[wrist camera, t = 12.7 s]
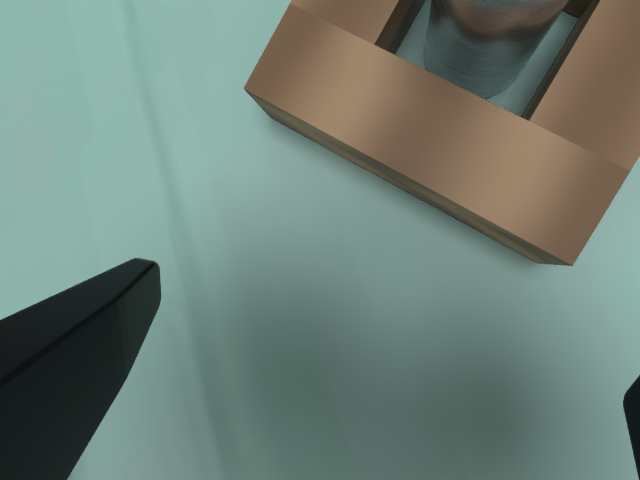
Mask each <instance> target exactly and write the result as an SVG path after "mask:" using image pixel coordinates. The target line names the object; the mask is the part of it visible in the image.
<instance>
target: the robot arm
mask: <svg viewBox="0 0 640 480" xmlns="http://www.w3.org/2000/svg"><path fill="white" fill-rule="evenodd" d="M160 301H161V284H160V268H159V265H158V263H156V262H155V261H151V260H146V259H141V258H134V259H131V260H129V261H127V262H125V263H123V264H121V265H118V266H116V267H114V268H112V269H110V270H108V271H105V272H103V273H101V274H99V275H97V276H95V277H92V278H90V279H88V280H86V281H84V282H82V283H79V284H77V285H75V286H73V287H71V288H69V289H66V290H64V291H62V292H60V293H58V294H56V295H53V296H51V297H49V298H47V299H45V300H43V301H40V302H38V303H36V304H34V305H32V306H30V307H27V308H25V309H23V310H21V311H19V312H17V313H15V314H12V315H10V316H8V317H6V318H4V319H2V320H0V480H67V479H68V477H69V475H70V474H71V472H72V470H73V468H74V467H75V465H76V463H77V462H78V460H79V458H80V457H81V455H82V453H83V452H84V450H85V448H86V447H87V445H88V443H89V442H90V440H91V438H92V436H93V435H94V433H95V431H96V430H97V428H98V426H99V425H100V423H101V421H102V420H103V418H104V416H105V415H106V413H107V411H108V410H109V408H110V406H111V404H112V403H113V401H114V399H115V398H116V396H117V394H118V393H119V391H120V389H121V387H122V386H123V384H124V382H125V380H126V379H127V376H128V374H129V372H130V370H131V368H132V366H133V364H134V362H135V359H136V357H137V355H138V353H139V350H140V348H141V346H142V344H143V342H144V339H145V337H146V335H147V333H148V330H149V328H150V326H151V324H152V321H153V319H154V317H155V315H156V313H157V310H158V308H159V305H160ZM623 407H624V412H625V416H626V421H627V426H628V430H629V435H630V440H631V444H632V449H633V454H634V458H635V463H636V468H637V472H638V477H639V480H640V375H639V377H638V378H637V379H636V380H635V382H634V383H633V384H632V385H631V387H630V388H629V389H628V390H627V392H626V393H625V396H624V400H623Z"/></svg>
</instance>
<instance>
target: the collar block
mask: <svg viewBox="0 0 640 480" xmlns="http://www.w3.org/2000/svg"><path fill="white" fill-rule="evenodd" d="M424 1H425V0H292V1H291V3H290V5H289V6H288V8H287V10H286V12H285V14H284V16H283V17H282V19H281V21H280V23H279V25H278V27H277V28H276V30H275V32H274V34H273V36H272V38H271V39H270V41H269V43H268V45H267V47H266V48H265V50H264V52H263V54H262V56H261V58H260V59H259V61H258V63H257V65H256V67H255V69H254V70H253V72H252V74H251V76H250V78H249V80H248V81H247V83H246V85H245V87H244V90H245V91H246V92H247V93H248V94H249V95H250V96H251V97H252V98H253V99H254V100H255V101H256V102H257V103H258V105H259V106H260V107H261V108H262V109H263V110H264V111H265V112H266V113H267V114H268V115H269V116H270V117H271V118H272V119H274V120H276V121H278V122H280V123H281V124H283V125H285V126H287V127H289V128H291V129H292V130H294V131H296V132H298V133H300V134H302V135H303V136H305V137H307V138H309V139H311V140H313V141H315V142H316V143H318V144H320V145H322V146H324V147H326V148H327V149H329V150H331V151H333V152H335V153H337V154H338V155H340V156H342V157H344V158H346V159H348V160H349V161H351V162H353V163H355V164H357V165H359V166H360V167H362V168H364V169H366V170H368V171H370V172H371V173H373V174H375V175H377V176H379V177H381V178H382V179H384V180H386V181H388V182H390V183H392V184H393V185H395V186H397V187H399V188H401V189H403V190H404V191H406V192H408V193H410V194H412V195H414V196H416V197H417V198H419V199H421V200H423V201H425V202H427V203H428V204H430V205H432V206H434V207H436V208H438V209H439V210H441V211H443V212H445V213H447V214H449V215H450V216H452V217H454V218H456V219H458V220H460V221H461V222H463V223H465V224H467V225H469V226H471V227H472V228H474V229H476V230H478V231H480V232H482V233H483V234H485V235H487V236H489V237H491V238H493V239H494V240H496V241H498V242H500V243H502V244H504V245H505V246H507V247H509V248H511V249H513V250H515V251H517V252H518V253H520V254H522V255H524V256H526V257H528V258H529V259H531V260H533V261H535V262H537V263H540V264H554V265H568V266H573V264H574V263H575V261H576V259H577V258H578V256H579V254H580V253H581V251H582V250H583V248H584V246H585V245H586V243H587V241H588V240H589V238H590V236H591V235H592V233H593V232H594V230H595V228H596V227H597V225H598V223H599V222H600V220H601V218H602V217H603V215H604V214H605V212H606V210H607V209H608V207H609V205H610V204H611V202H612V200H613V199H614V197H615V195H616V194H617V192H618V191H619V189H620V187H621V186H622V184H623V182H624V181H625V179H626V177H627V176H628V174H629V173H630V171H631V169H632V168H633V166H634V164H635V163H636V161H637V159H638V158H639V156H640V0H569V1H568V3H567V4H566V6H565V7H564V9H563V11H565V12H567V13H569V14H572V15H574V16H576V17H578V18H579V20H578V21H577V23H576V25H575V26H574V28H573V30H572V32H571V33H570V35H569V37H568V38H567V40H566V42H565V43H564V45H563V47H562V49H561V50H560V52H559V54H558V55H557V57H556V59H555V60H554V62H553V64H552V66H551V67H550V69H549V71H548V72H547V74H546V76H545V77H544V79H543V81H542V82H541V84H540V86H539V88H538V89H537V91H536V93H535V94H534V96H533V98H532V99H531V101H530V103H529V105H528V106H527V108H526V110H525V111H524V113H523V115H522V116H521V117H520V116H518V115H515V114H513V113H511V112H509V111H507V110H505V109H503V108H501V107H499V106H497V105H495V104H493V103H491V102H489V101H487V100H485V99H483V98H481V97H479V96H477V95H475V94H473V93H471V92H469V91H467V90H465V89H463V88H461V87H459V86H457V85H455V84H453V83H451V82H449V81H447V80H445V79H443V78H440V77H438V76H436V75H434V74H432V73H430V72H428V71H426V70H424V69H422V68H420V67H418V66H416V65H414V64H412V63H410V62H408V61H406V60H404V59H402V58H400V57H398V56H396V55H394V54H395V53H396V51H397V49H398V47H399V46H400V44H401V42H402V40H403V39H404V37H405V35H406V33H407V31H408V30H409V28H410V26H411V24H412V23H413V21H414V19H415V17H416V16H417V14H418V12H419V10H420V9H421V7H422V5H423V3H424Z"/></svg>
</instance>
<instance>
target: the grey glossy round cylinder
mask: <svg viewBox="0 0 640 480" xmlns="http://www.w3.org/2000/svg"><path fill="white" fill-rule="evenodd" d="M568 1H569V0H432V1H431V9H430V16H429V23H428V31H427V38H426V45H425V65H426V69H427V71H428V72H430V73H432V74H434V75H436V76H438V77H440V78H443V79H445V80H447V81H449V82H451V83H453V84H455V85H457V86H459V87H461V88H463V89H465V90H467V91H469V92H471V93H473V94H475V95H477V96H479V97H481V98H483V99H486V98H490V97H492V96H495V95H497V94H498V93H500V92H502V91H503V90H505V89H506V88H507V87H508V86H509V85H510V84H511V83H512V82H513V81H514V80H515V79H516V77H517V76H518V75H519V73H520V72H521V70H522V69H523V67H524V66H525V64H526V63H527V61H528V60H529V58H530V57H531V55H532V54H533V53H534V51H535V50H536V48H537V47H538V45H539V44H540V42H541V41H542V39H543V38H544V36H545V35H546V34H547V32H548V31H549V29H550V28H551V26H552V25H553V23H554V22H555V20H556V19H557V17H558V16H559V14H560V13H561V12H562V10H563V9H564V7H565V6H566V4H567V3H568Z"/></svg>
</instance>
